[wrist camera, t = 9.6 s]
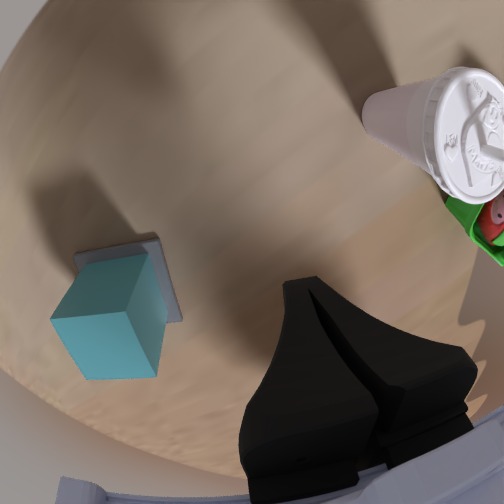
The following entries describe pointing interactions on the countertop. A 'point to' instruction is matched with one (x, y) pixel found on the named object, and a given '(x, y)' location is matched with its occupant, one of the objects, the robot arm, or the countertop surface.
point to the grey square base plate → (132, 250)
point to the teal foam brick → (114, 319)
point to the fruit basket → (482, 223)
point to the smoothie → (446, 129)
